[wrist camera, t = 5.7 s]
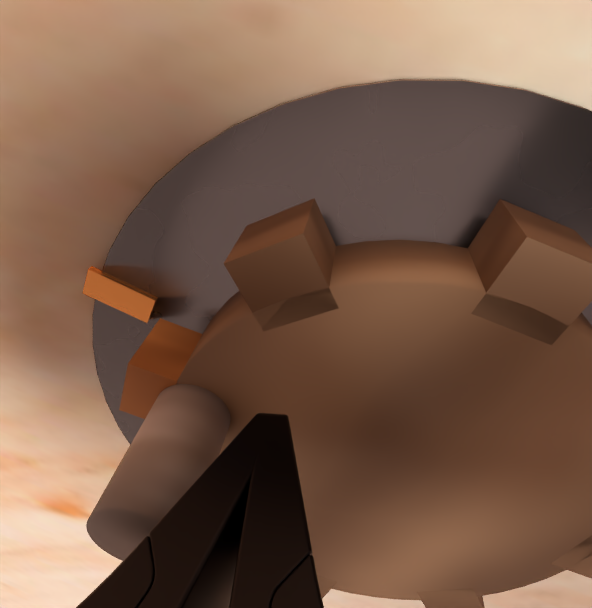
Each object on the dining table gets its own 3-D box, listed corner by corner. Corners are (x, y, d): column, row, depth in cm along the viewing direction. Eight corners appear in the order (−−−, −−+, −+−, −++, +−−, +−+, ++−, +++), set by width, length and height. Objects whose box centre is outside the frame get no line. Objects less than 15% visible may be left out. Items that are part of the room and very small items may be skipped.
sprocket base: (620, 596, 18) (625, 608, 17) (169, 548, 21) (165, 556, 20) (965, 43, 8) (993, 44, 7) (-8, 105, 11) (-20, 107, 10)
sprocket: (827, 336, 10) (1191, 588, 6) (470, 599, 18) (502, 789, 14) (214, 79, 9) (60, 139, 5) (123, 479, 17) (35, 643, 13)
